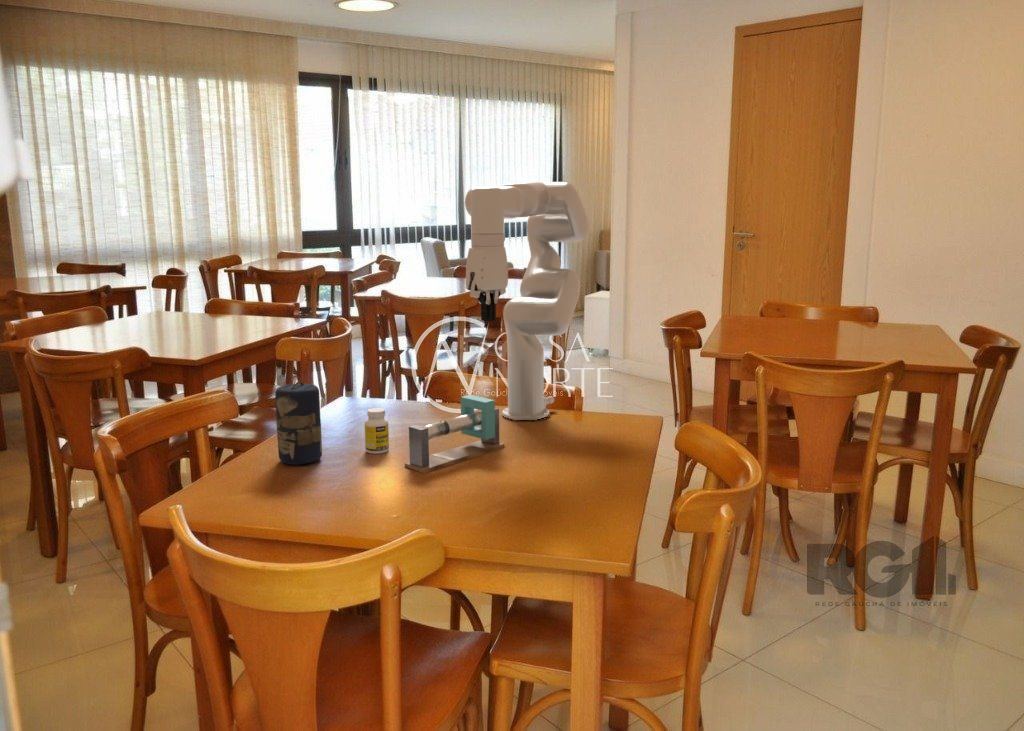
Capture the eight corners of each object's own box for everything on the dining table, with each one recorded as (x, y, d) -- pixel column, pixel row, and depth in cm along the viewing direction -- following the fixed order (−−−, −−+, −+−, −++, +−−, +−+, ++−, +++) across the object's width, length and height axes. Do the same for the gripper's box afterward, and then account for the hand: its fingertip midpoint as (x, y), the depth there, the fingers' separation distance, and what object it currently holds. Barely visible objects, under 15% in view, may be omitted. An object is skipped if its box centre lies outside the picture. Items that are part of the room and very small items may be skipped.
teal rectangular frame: (470, 430, 199) (469, 394, 198) (495, 437, 194) (494, 400, 192) (461, 433, 197) (460, 397, 195) (485, 439, 192) (485, 402, 190)
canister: (269, 463, 187) (264, 384, 184) (299, 452, 196) (294, 375, 192) (303, 469, 183) (298, 388, 179) (331, 457, 191) (327, 379, 187)
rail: (487, 443, 201) (486, 405, 199) (499, 446, 199) (499, 408, 197) (410, 467, 184) (408, 426, 182) (422, 471, 181) (421, 430, 179)
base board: (485, 441, 202) (485, 438, 202) (504, 447, 198) (504, 443, 198) (404, 466, 184) (404, 462, 184) (424, 473, 180) (424, 469, 180)
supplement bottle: (377, 455, 192) (375, 414, 190) (360, 451, 196) (358, 410, 194) (394, 450, 197) (392, 409, 195) (377, 446, 200) (376, 405, 198)
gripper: (498, 239, 203) (498, 315, 207) (452, 242, 192) (454, 322, 196) (521, 240, 198) (521, 318, 202) (476, 243, 187) (477, 325, 191)
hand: (488, 320), depth 199 cm, fingers closed
